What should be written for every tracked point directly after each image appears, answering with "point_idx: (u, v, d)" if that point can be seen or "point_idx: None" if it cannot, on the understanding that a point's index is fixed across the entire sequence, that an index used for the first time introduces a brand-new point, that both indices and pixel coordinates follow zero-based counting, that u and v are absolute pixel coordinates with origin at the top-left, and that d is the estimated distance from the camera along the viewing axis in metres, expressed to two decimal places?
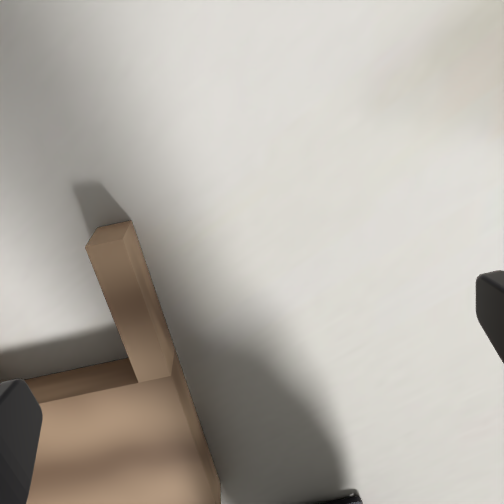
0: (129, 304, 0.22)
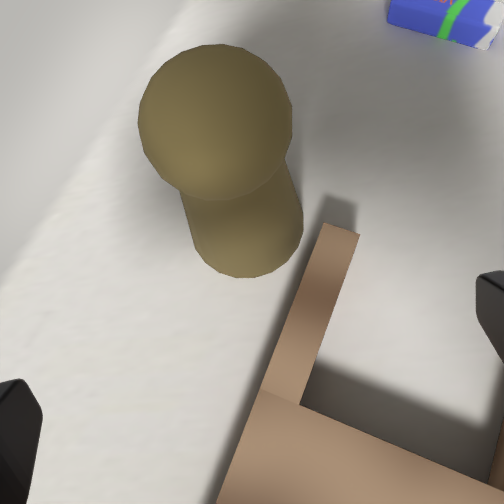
0: None
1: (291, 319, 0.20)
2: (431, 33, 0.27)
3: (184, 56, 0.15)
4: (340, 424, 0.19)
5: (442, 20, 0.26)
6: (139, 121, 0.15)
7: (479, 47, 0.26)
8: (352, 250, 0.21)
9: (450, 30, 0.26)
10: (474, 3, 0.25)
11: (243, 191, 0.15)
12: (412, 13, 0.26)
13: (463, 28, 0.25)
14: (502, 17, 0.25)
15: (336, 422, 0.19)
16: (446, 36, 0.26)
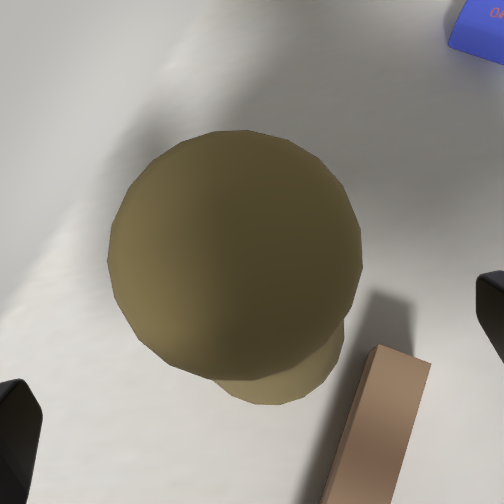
0: None
1: (338, 492, 0.14)
2: None
3: (185, 153, 0.09)
4: None
5: None
6: (109, 261, 0.09)
7: None
8: (421, 387, 0.15)
9: None
10: None
11: (281, 371, 0.09)
12: (484, 37, 0.20)
13: None
14: None
15: None
16: None
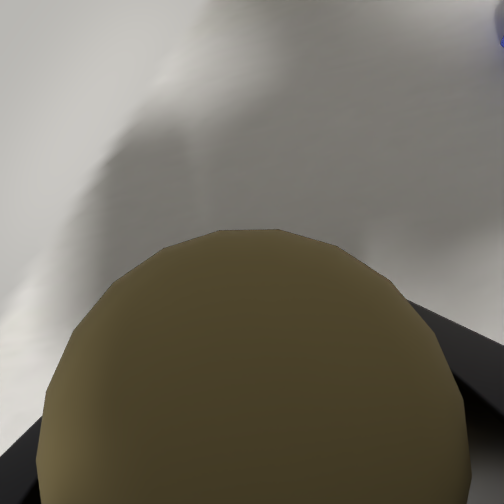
0: None
1: None
2: None
3: (167, 283, 0.05)
4: None
5: None
6: None
7: None
8: None
9: None
10: None
11: None
12: None
13: None
14: None
15: None
16: None
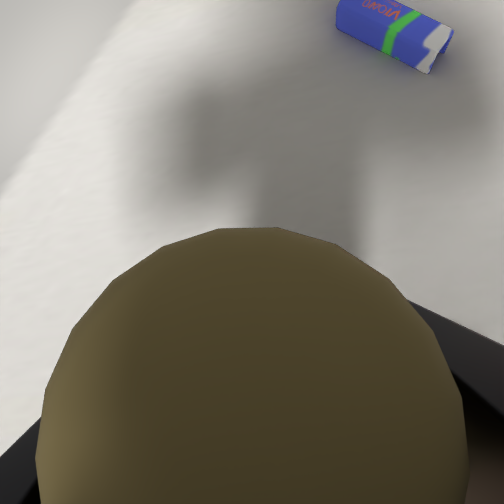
0: None
1: None
2: (376, 46, 0.26)
3: (166, 282, 0.05)
4: None
5: (384, 35, 0.24)
6: None
7: (420, 69, 0.25)
8: None
9: (392, 46, 0.25)
10: (419, 22, 0.24)
11: None
12: (357, 22, 0.25)
13: (404, 46, 0.24)
14: (443, 42, 0.24)
15: None
16: (389, 51, 0.25)
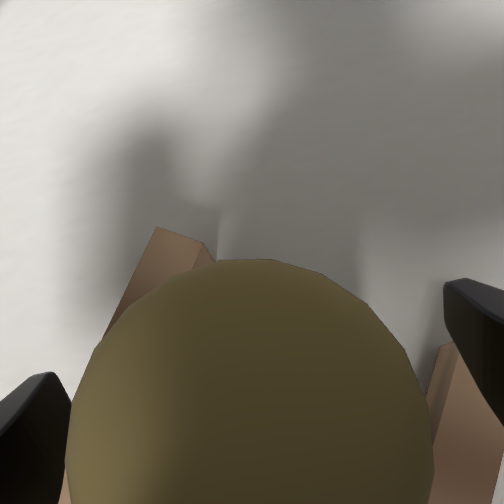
0: (468, 465, 0.12)
1: None
2: None
3: (175, 309, 0.06)
4: None
5: None
6: (66, 470, 0.06)
7: None
8: (190, 265, 0.15)
9: None
10: None
11: None
12: None
13: None
14: None
15: None
16: None
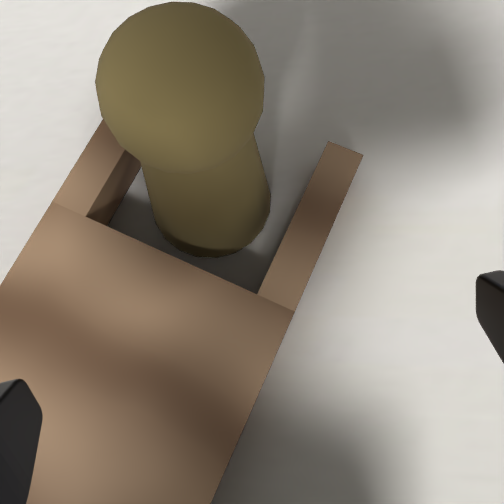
0: (320, 209, 0.21)
1: (92, 145, 0.22)
2: None
3: (151, 11, 0.13)
4: (120, 234, 0.20)
5: None
6: (97, 80, 0.13)
7: None
8: None
9: None
10: None
11: (207, 165, 0.14)
12: None
13: None
14: None
15: (116, 231, 0.20)
16: None
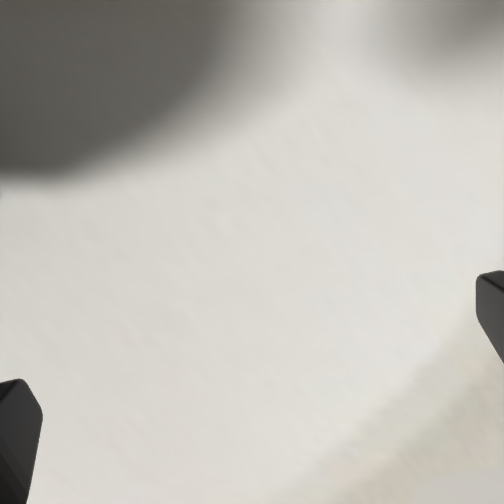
0: None
1: None
2: None
3: None
4: None
5: None
6: None
7: None
8: None
9: None
10: None
11: None
12: None
13: None
14: None
15: None
16: None
